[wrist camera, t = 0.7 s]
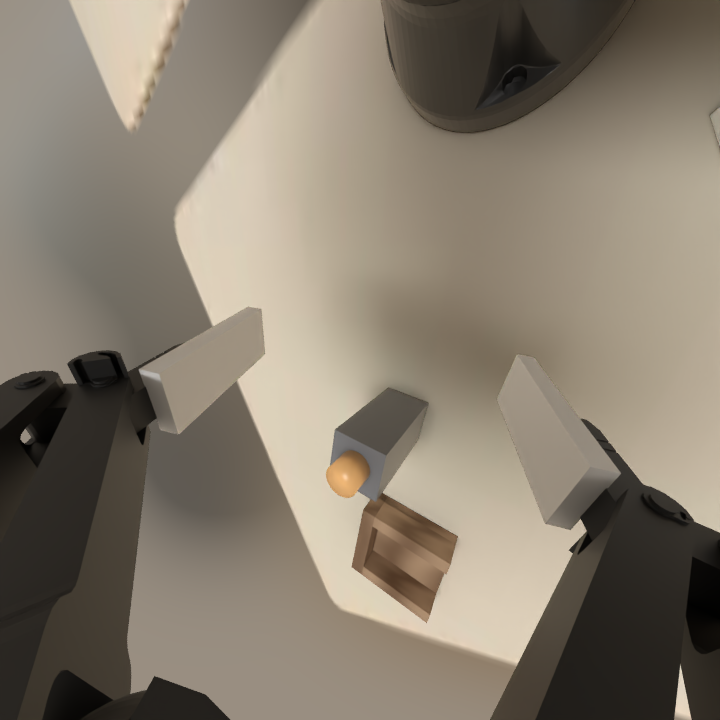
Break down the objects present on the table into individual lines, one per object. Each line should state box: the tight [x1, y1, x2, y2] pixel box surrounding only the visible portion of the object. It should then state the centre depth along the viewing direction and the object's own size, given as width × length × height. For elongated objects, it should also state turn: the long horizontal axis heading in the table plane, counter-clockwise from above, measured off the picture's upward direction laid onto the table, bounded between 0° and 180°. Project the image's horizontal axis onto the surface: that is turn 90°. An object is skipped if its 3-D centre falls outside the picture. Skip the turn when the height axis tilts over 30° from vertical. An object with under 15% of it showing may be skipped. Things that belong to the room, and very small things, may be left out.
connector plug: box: [326, 388, 428, 502], centre depth 24 cm, size 4×4×12 cm
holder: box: [352, 493, 457, 623], centre depth 32 cm, size 10×10×4 cm
